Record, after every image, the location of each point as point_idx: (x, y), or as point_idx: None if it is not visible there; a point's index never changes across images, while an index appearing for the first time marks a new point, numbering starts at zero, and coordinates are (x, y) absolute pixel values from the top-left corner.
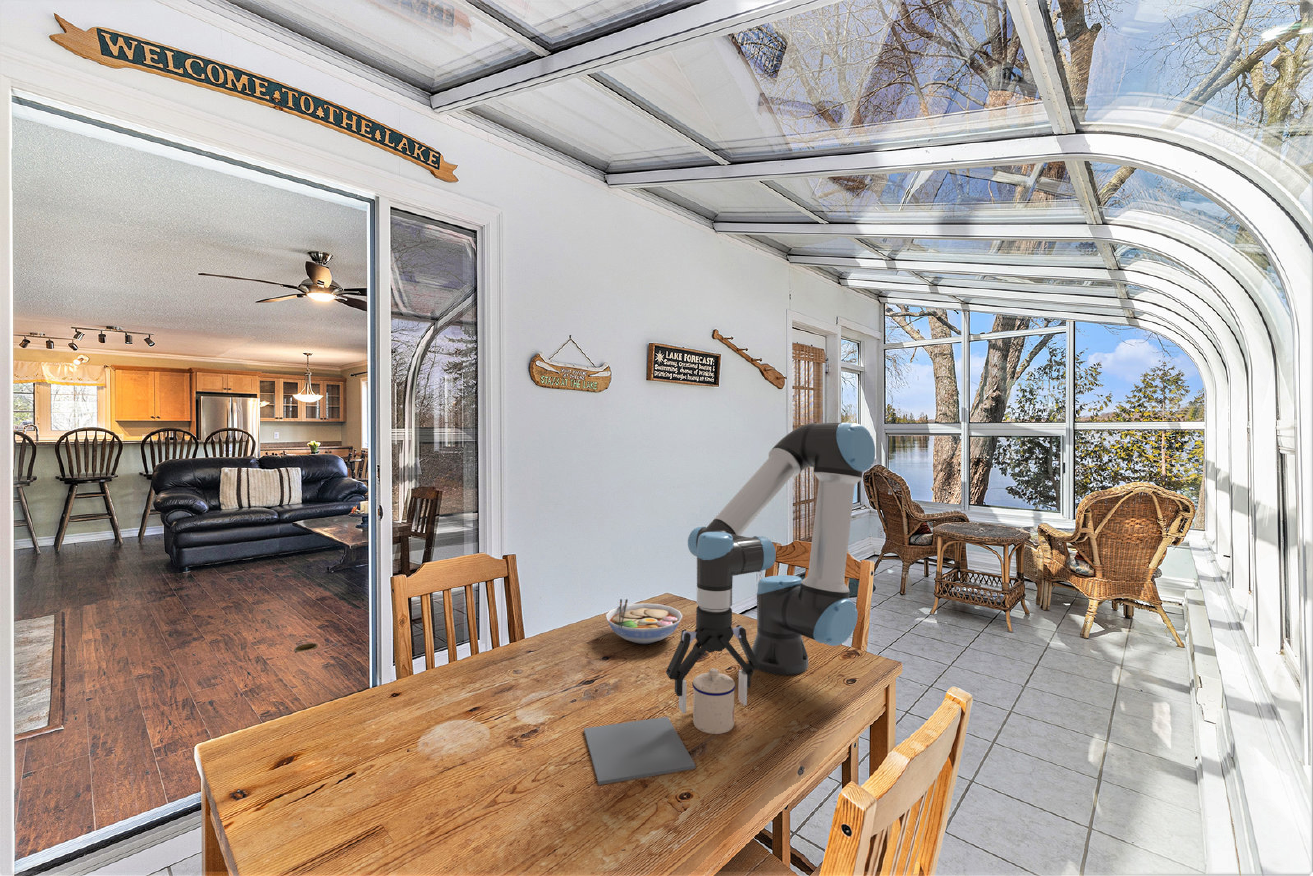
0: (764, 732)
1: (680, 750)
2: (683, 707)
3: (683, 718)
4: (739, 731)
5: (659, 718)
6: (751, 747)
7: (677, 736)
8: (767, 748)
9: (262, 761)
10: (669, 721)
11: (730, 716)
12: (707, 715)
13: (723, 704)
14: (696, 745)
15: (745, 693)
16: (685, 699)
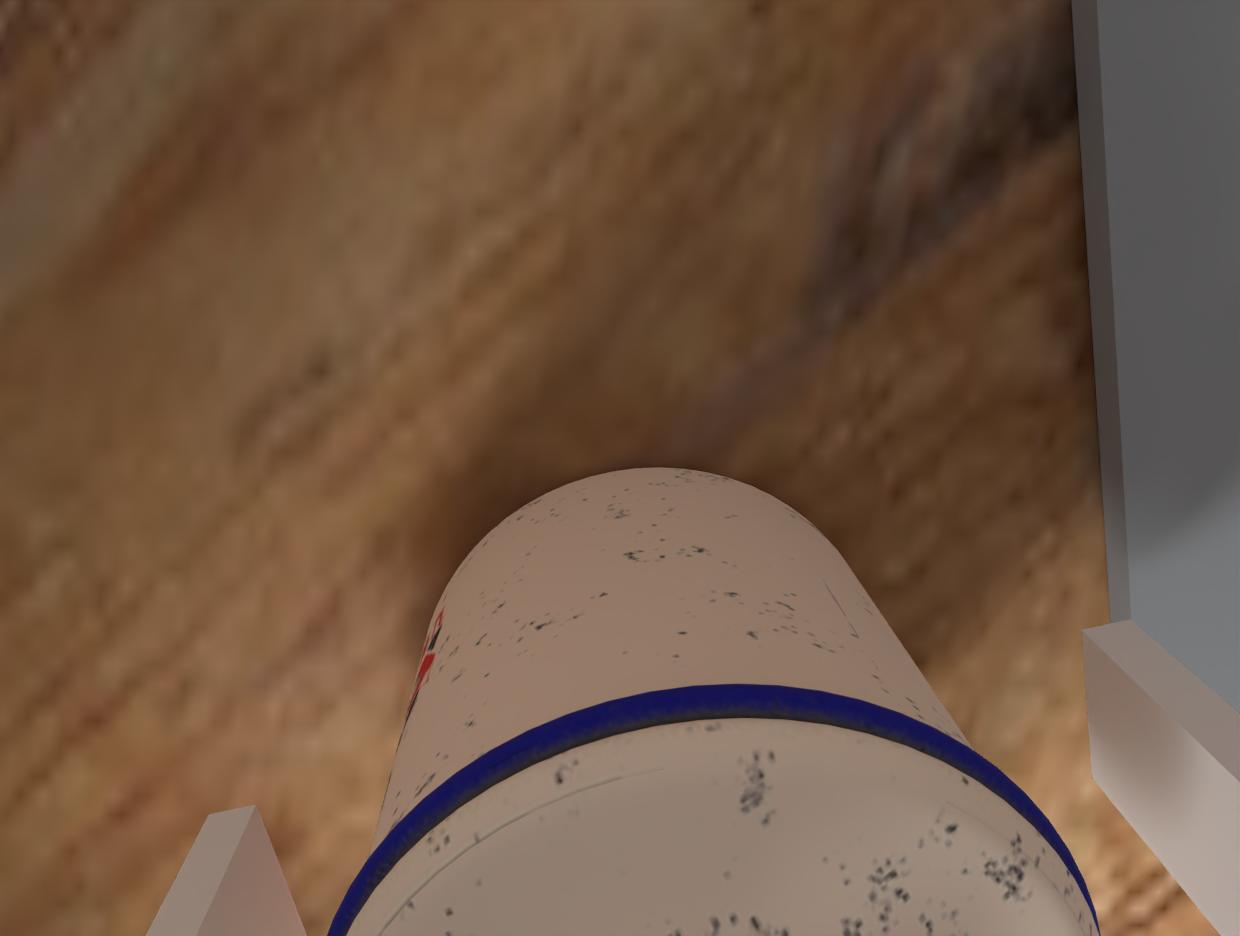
0: (86, 499)
1: (1179, 80)
2: (1167, 661)
3: None
4: (381, 528)
5: None
6: (284, 192)
7: (1135, 384)
8: (85, 159)
9: None
10: None
11: (472, 604)
12: (805, 569)
13: (587, 632)
14: (923, 268)
15: (168, 933)
16: (1206, 732)
